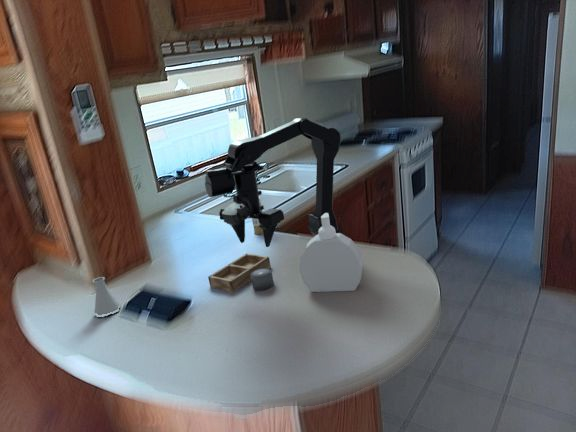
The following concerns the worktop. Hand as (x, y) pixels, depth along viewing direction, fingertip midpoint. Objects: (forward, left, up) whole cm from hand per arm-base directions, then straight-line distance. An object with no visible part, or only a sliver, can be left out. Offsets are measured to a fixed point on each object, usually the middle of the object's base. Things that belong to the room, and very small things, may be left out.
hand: (255, 244), depth 128 cm
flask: (+33, +28, -13) cm, 45 cm away
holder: (+10, -2, -12) cm, 16 cm away
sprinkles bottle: (+29, -35, -13) cm, 47 cm away
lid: (-1, 0, -13) cm, 13 cm away
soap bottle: (-20, -6, -13) cm, 24 cm away
